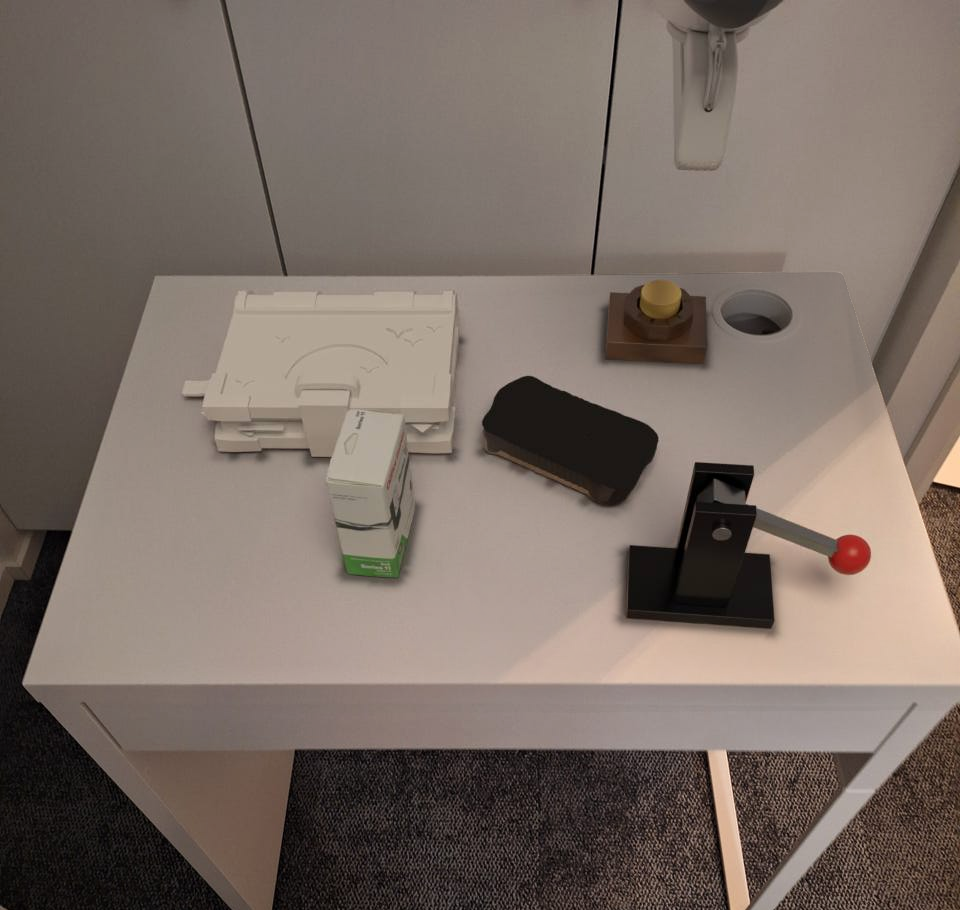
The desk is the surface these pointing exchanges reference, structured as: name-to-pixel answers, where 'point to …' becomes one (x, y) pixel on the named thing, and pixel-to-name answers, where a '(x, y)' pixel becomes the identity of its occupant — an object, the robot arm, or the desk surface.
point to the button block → (656, 330)
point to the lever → (797, 531)
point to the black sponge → (569, 439)
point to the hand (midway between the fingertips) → (684, 160)
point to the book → (333, 368)
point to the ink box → (372, 491)
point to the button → (660, 299)
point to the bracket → (705, 563)
